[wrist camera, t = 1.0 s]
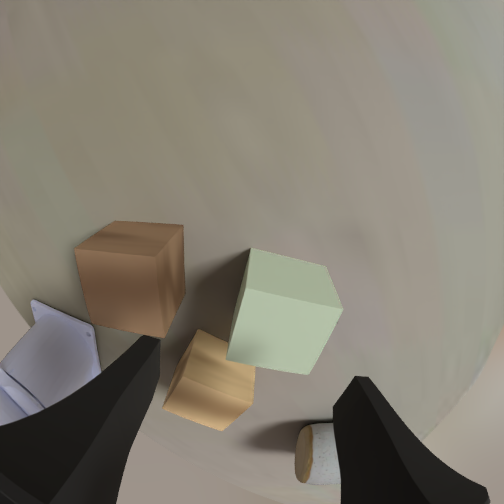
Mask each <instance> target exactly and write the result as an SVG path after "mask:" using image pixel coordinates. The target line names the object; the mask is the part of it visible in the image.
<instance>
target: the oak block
mask: <svg viewBox="0 0 504 504" xmlns="http://www.w3.org/2000/svg"><path fill="white" fill-rule="evenodd" d="M227 348H228V342H226V341H223V340H221V339H219V338H217V337H215V336H212V335H210V334H208V333H206V332H204V331H202V330H200V329H198V330H197V332H196V334H195V335H194V337H193V339H192V340H191V342H190V344H189V345H188V347H187V349H186V351H185V352H184V354H183V356H182V357H181V359H180V361H179V363H178V364H177V367H176V369H175V372H174V375H173V378H172V381H171V384H170V387H169V390H168V393H167V396H166V398H165V401H164V404H163V407H162V409H164V410H167V411H169V412H171V413H174V414H176V415H179V416H181V417H184V418H186V419H189V420H191V421H194V422H197V423H199V424H202V425H205V426H208V427H211V428H214V429H217V430H220V431H223V430H224V429H225V428H226V427H227V426H229V425H230V424H231V423H232V422H233V421H234V420H235V419H237V418H238V417H239V416H240V415H241V414H242V413H243V412H244V411H245V410H247V409H248V408H249V407H250V406H251V405H252V404H253V397H254V381H255V366H252V365H247V364H242V363H237V362H233V361H228V360H226V354H227Z"/></svg>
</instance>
